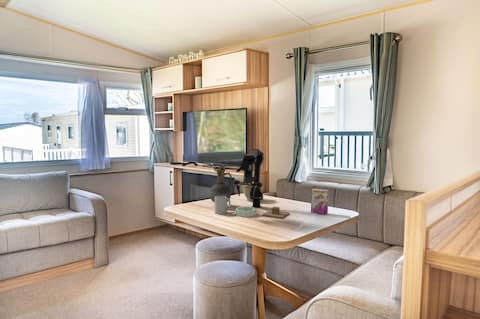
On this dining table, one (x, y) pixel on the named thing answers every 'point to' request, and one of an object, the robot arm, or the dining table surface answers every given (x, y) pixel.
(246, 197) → the planter bowl
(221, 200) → the mug
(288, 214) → the rubber mat
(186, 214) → the dining table surface
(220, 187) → the pitcher
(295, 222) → the dining table surface
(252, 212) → the sage dish
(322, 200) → the candy bar box
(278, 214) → the walnut lid
